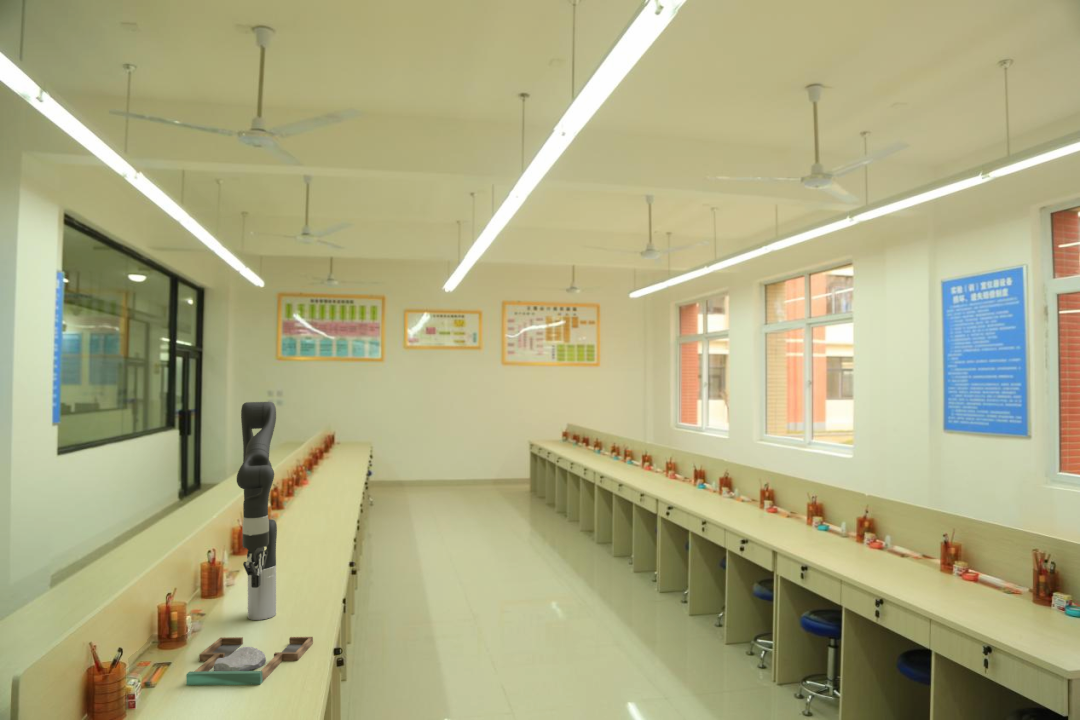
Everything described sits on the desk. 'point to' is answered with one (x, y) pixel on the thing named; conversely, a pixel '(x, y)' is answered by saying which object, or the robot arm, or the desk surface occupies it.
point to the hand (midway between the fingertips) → (255, 586)
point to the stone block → (241, 660)
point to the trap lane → (227, 647)
